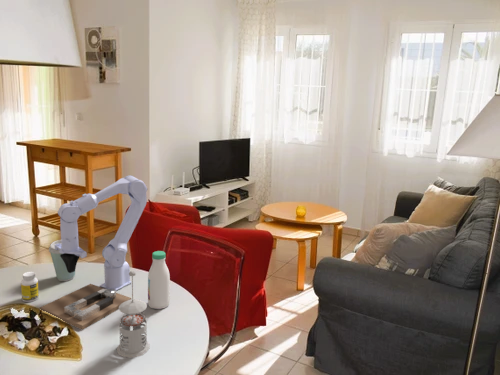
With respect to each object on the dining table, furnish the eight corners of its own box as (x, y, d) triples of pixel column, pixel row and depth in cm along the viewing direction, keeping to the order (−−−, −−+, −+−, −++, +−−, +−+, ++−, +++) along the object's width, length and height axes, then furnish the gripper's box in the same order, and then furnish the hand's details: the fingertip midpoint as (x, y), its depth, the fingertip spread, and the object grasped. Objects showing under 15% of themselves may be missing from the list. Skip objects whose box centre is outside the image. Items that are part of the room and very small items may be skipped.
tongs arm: (106, 292, 157) (106, 286, 156) (118, 296, 154) (118, 290, 153) (64, 312, 142) (63, 306, 141) (76, 318, 139) (76, 311, 138)
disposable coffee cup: (83, 278, 170) (82, 243, 167) (56, 286, 163) (54, 250, 159) (72, 270, 177) (71, 236, 174) (46, 277, 170) (43, 242, 166)
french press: (118, 360, 121) (116, 280, 115) (114, 338, 131) (112, 264, 126) (152, 353, 125) (152, 275, 119) (146, 332, 135) (145, 260, 130)
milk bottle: (173, 302, 155) (174, 251, 151) (161, 311, 148) (161, 258, 144) (156, 297, 158) (156, 247, 154) (143, 306, 152) (143, 254, 147)
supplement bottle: (31, 303, 150) (30, 278, 147) (18, 301, 151) (16, 276, 148) (42, 296, 155) (40, 271, 153) (29, 294, 156) (27, 269, 154)
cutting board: (90, 287, 164) (90, 283, 163) (131, 301, 154) (131, 298, 154) (39, 311, 145) (39, 307, 144) (82, 329, 135) (82, 325, 135)
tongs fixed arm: (105, 300, 151) (105, 295, 151) (113, 303, 149) (113, 298, 149) (74, 317, 139) (73, 311, 139) (82, 321, 138) (82, 314, 137)
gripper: (46, 235, 151) (48, 270, 155) (74, 244, 145) (76, 280, 148) (63, 230, 158) (64, 264, 161) (90, 238, 151) (92, 273, 154)
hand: (71, 271), depth 155 cm, fingers closed
